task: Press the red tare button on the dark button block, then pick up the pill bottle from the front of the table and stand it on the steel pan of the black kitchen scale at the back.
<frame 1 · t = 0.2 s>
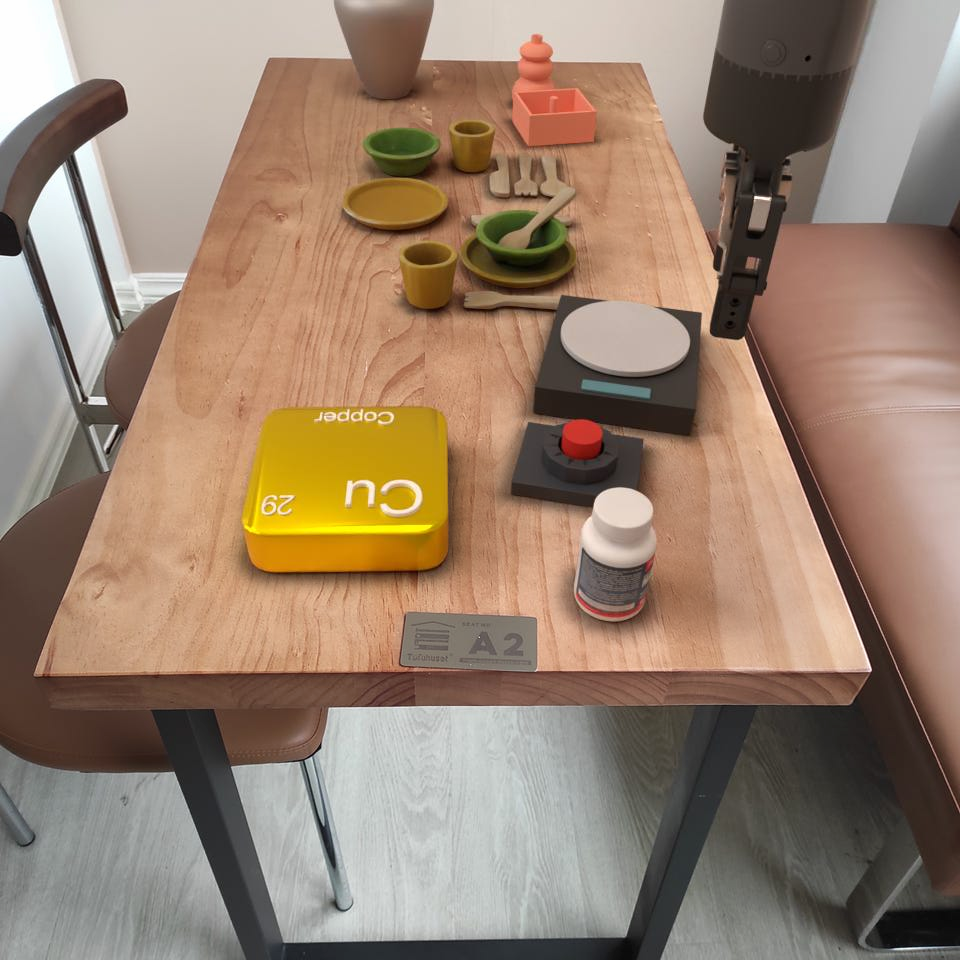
hand: (726, 301, 62), 19 cm above the table, tool pointing down, fingers open, 8 cm apart
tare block: (577, 472, 78), on the table
pill bottle: (608, 597, 68), on the table
scale: (619, 373, 88), on the table
tare button: (581, 439, 75), point 4 cm above the table, slide at 0.1 cm
element tile: (354, 506, 74), on the table
tableware set: (456, 225, 111), on the table
vase: (388, 93, 143), on the table
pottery: (543, 121, 135), on the table
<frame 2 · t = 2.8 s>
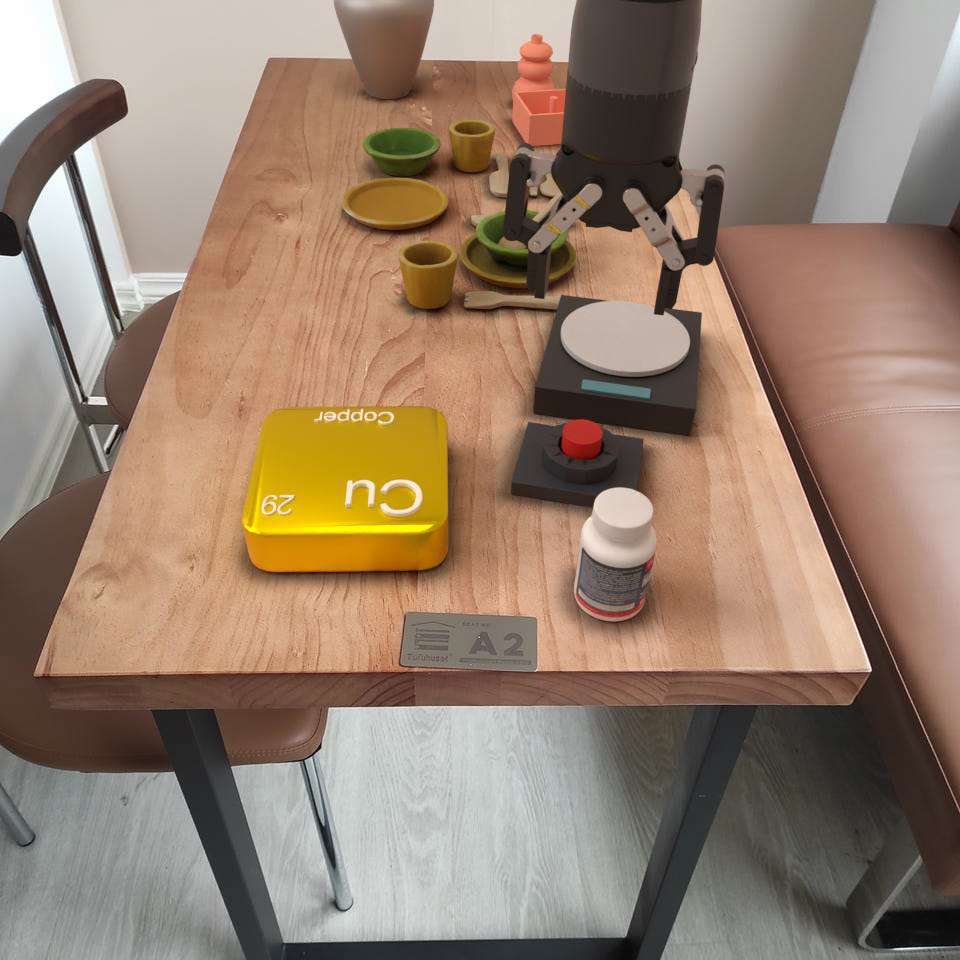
hand: (600, 301, 67), 16 cm above the table, tool pointing down, fingers open, 8 cm apart
nothing on the table moved.
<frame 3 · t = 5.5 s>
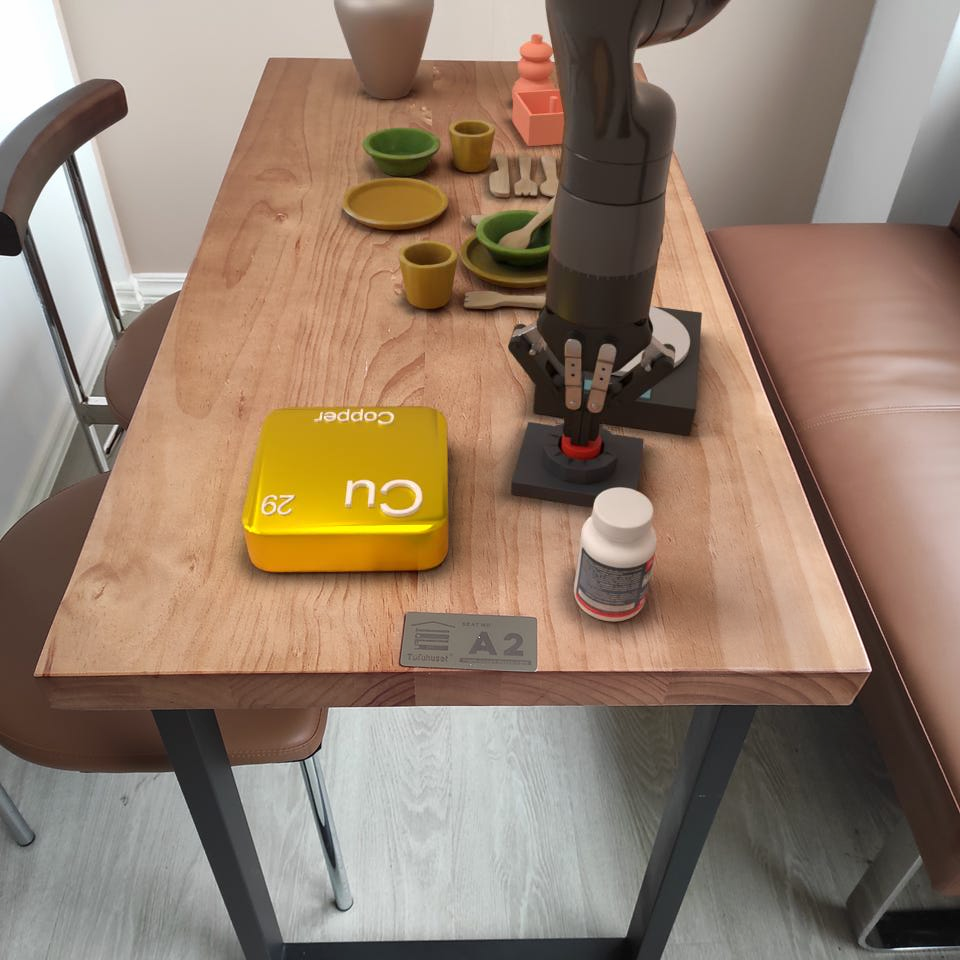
hand: (580, 439, 75), 4 cm above the table, tool pointing down, fingers closed
tare button: (580, 447, 76), point 3 cm above the table, slide at -0.7 cm, touching gripper
everything else where it was.
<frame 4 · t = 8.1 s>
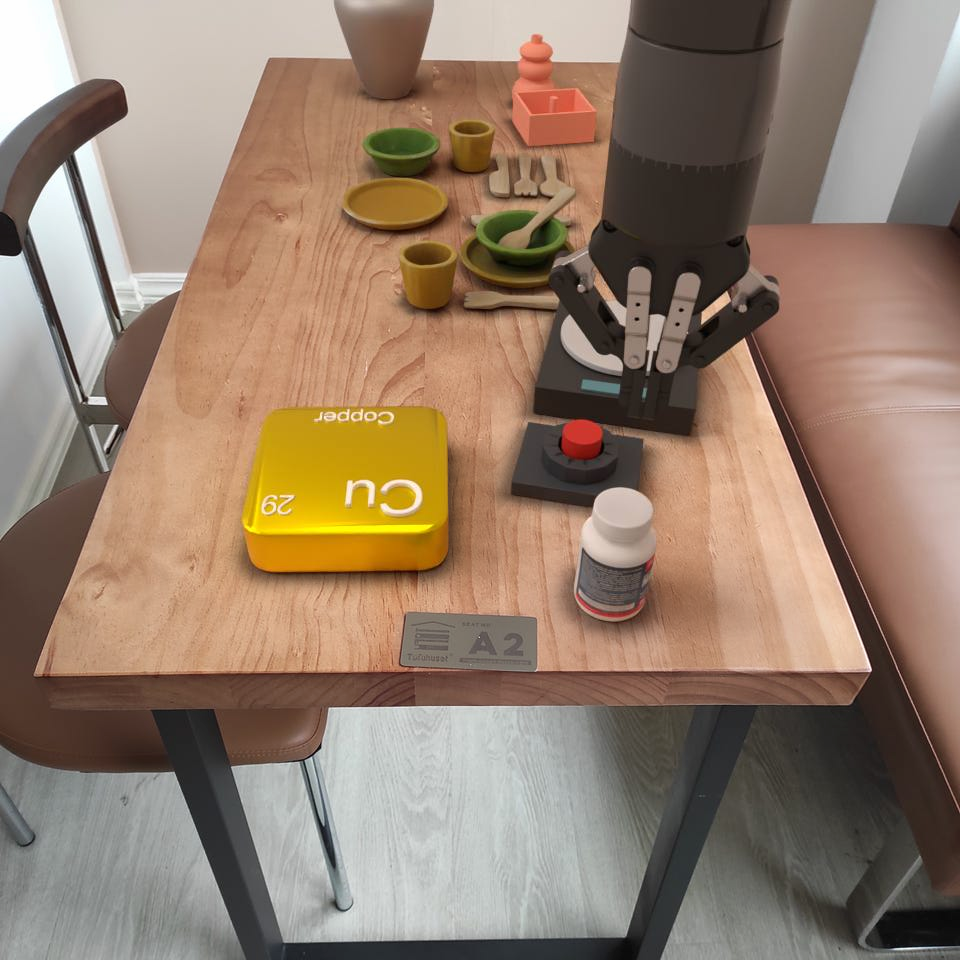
hand: (642, 410, 57), 17 cm above the table, tool pointing down, fingers closed
tare button: (581, 439, 75), point 3 cm above the table, slide at 0.1 cm
everything else where it was.
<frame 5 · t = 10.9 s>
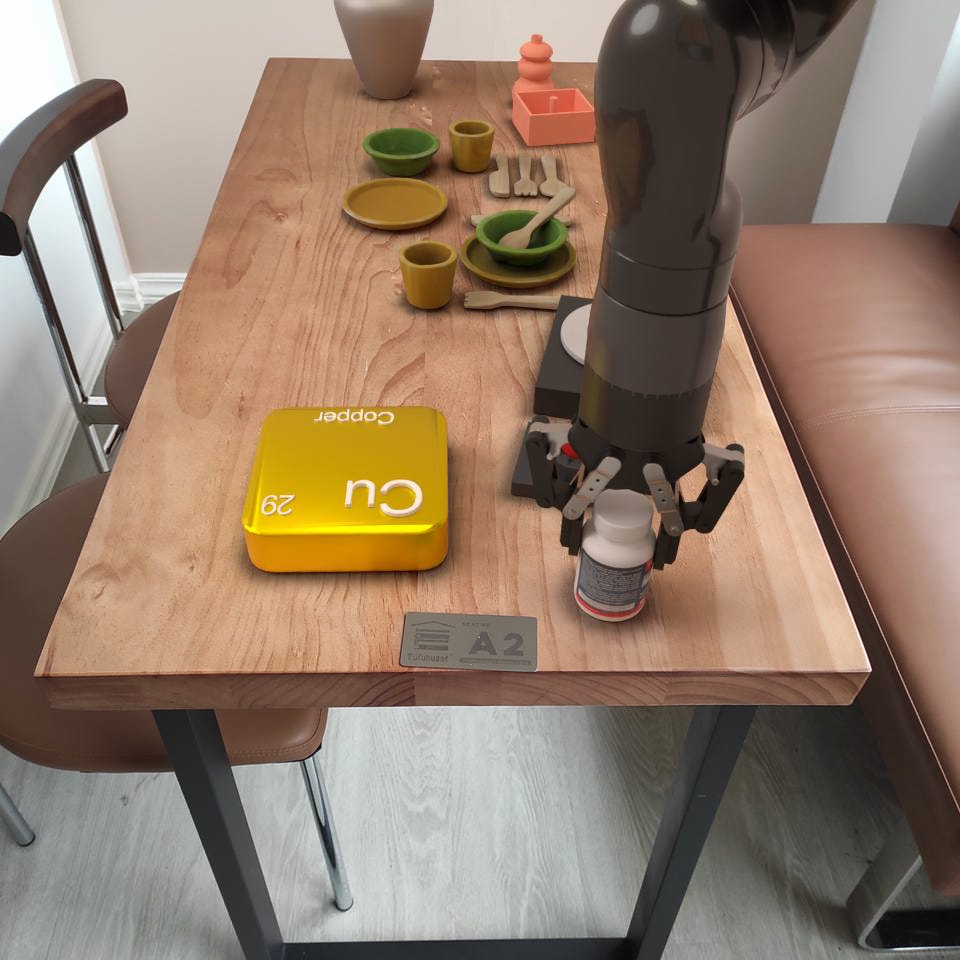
hand: (616, 553, 65), 4 cm above the table, tool pointing down, fingers closed on pill bottle, 5 cm apart
pill bottle: (608, 597, 68), on the table, touching gripper
everything else where it was.
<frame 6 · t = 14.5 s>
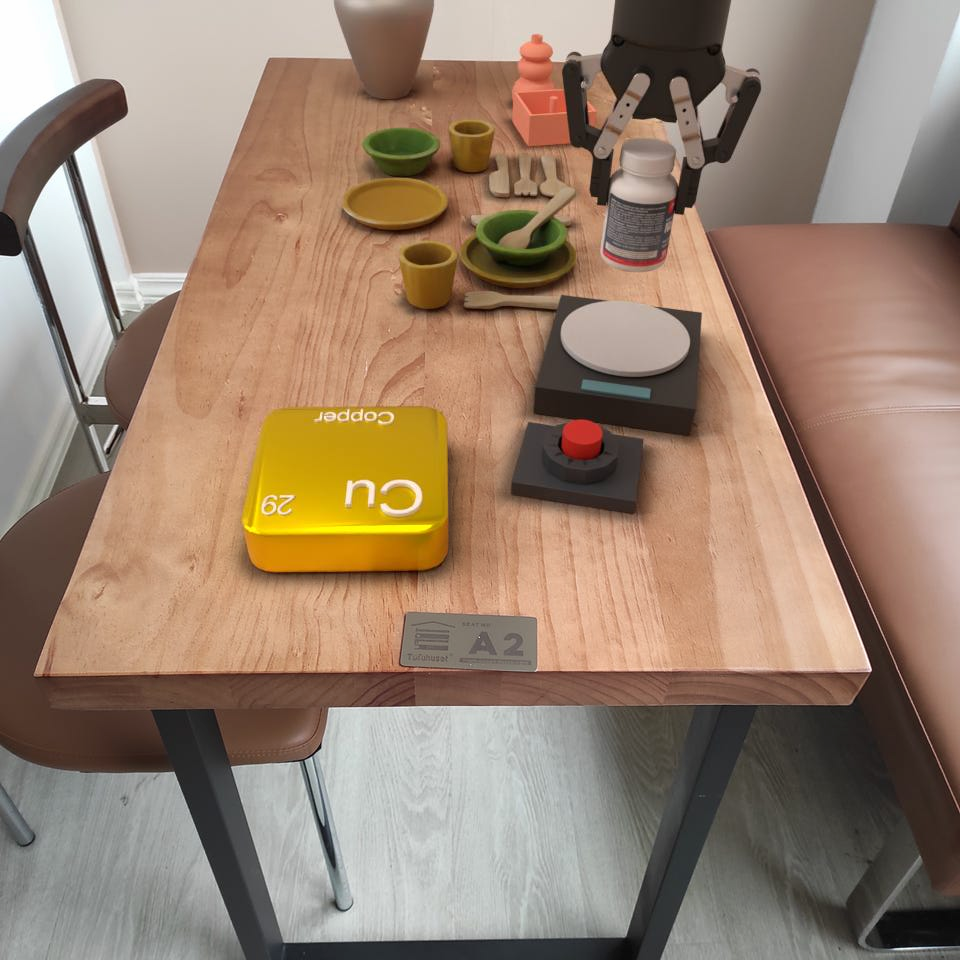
hand: (641, 204, 71), 20 cm above the table, tool pointing down, fingers closed on pill bottle, 5 cm apart
pill bottle: (632, 259, 74), point 15 cm above the table, touching gripper
everything else where it was.
when the fingers open (8 cm above the table, at t = 18.1 s): pill bottle stays where it is, resting on scale.
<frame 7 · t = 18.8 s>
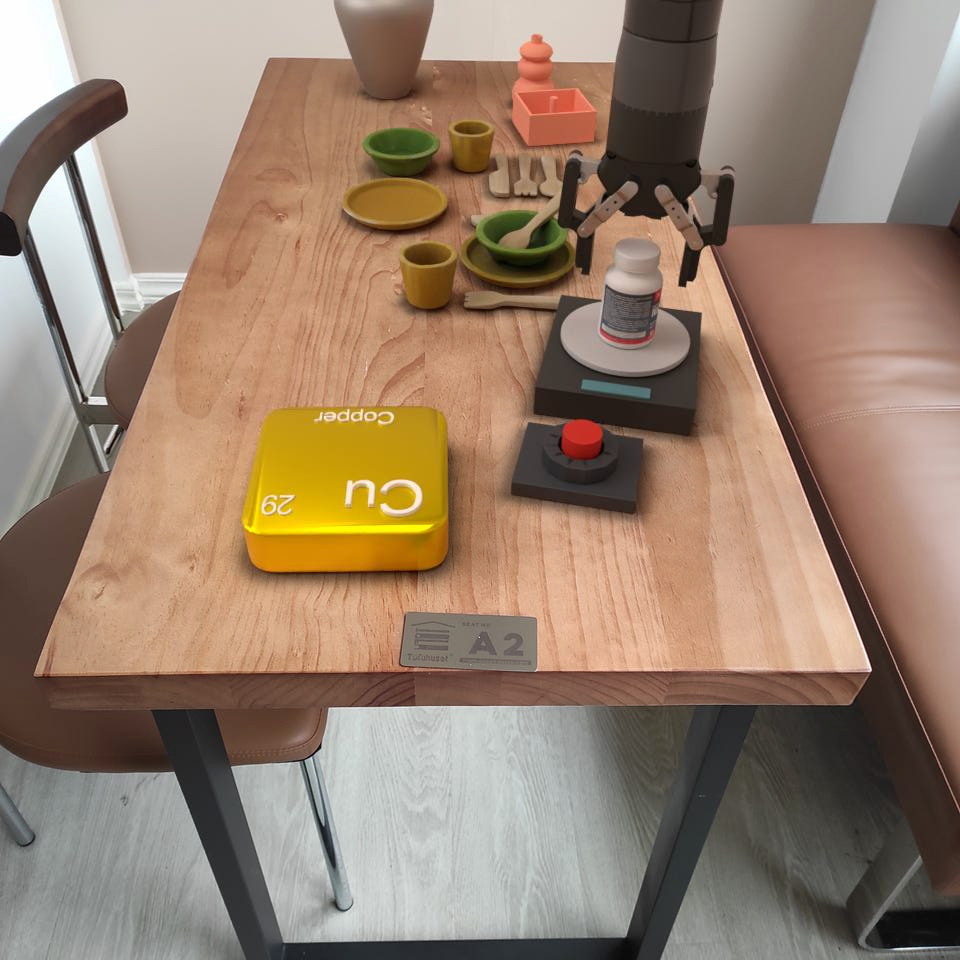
hand: (634, 276, 83), 10 cm above the table, tool pointing down, fingers open, 8 cm apart
pill bottle: (625, 336, 87), point 4 cm above the table, touching scale
everything else where it was.
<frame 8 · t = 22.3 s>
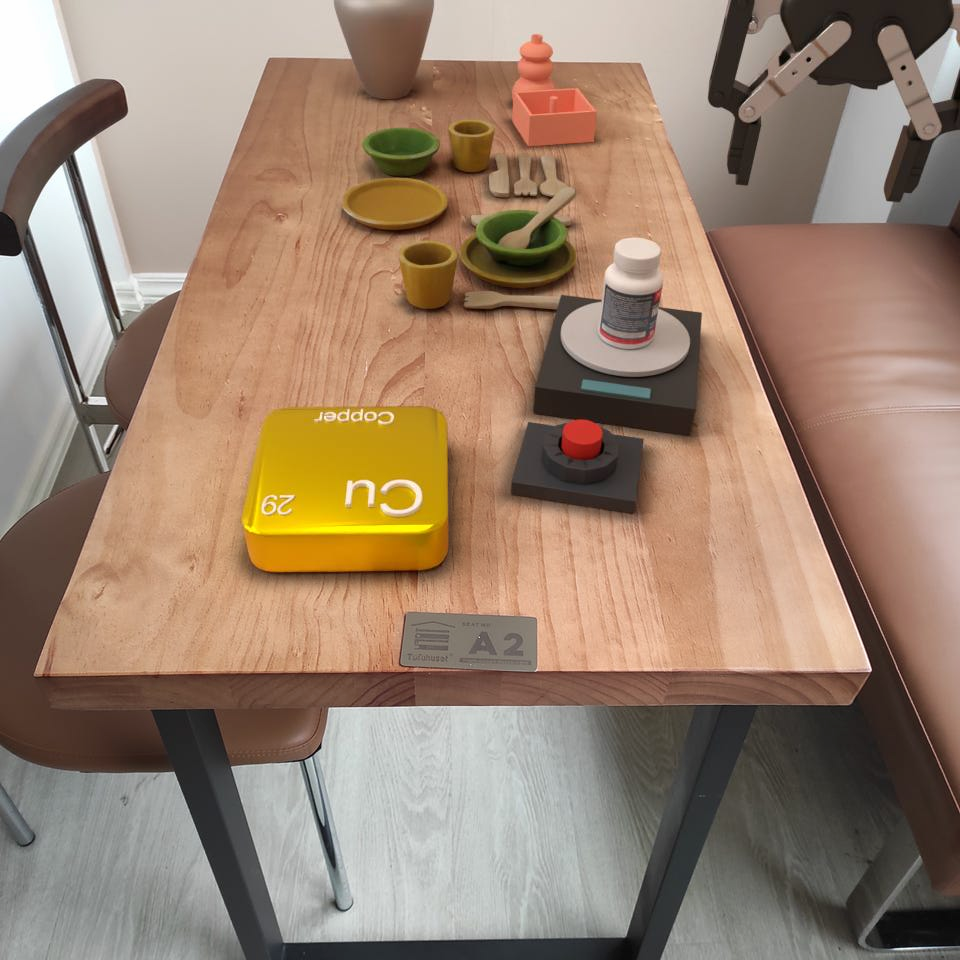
hand: (815, 188, 54), 28 cm above the table, tool pointing down, fingers open, 8 cm apart
nothing on the table moved.
at the end: tare button pushed in 0.9 cm at the most during the clip, back to where it started at the end; pill bottle inside the target area on the scale (0.1 cm from its centre), point 3.6 cm above the scale's base; pill bottle tilted 0° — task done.
